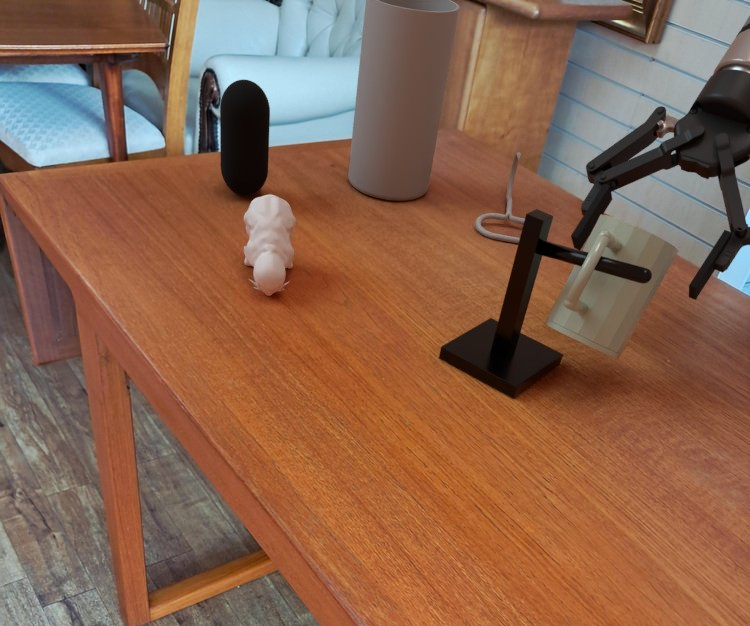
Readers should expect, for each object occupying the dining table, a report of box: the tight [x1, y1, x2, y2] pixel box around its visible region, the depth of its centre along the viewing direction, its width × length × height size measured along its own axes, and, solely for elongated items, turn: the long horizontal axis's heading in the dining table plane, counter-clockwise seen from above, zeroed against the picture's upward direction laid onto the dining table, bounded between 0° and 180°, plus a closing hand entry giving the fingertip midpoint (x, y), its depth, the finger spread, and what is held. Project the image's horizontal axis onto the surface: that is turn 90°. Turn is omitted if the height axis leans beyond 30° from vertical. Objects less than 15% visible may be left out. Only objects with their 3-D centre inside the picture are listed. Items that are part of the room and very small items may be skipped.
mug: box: [543, 214, 679, 360], centre depth 80 cm, size 13×9×12 cm, turn 138°
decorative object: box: [219, 79, 271, 197], centre depth 108 cm, size 7×7×15 cm
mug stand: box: [438, 208, 652, 399], centre depth 81 cm, size 18×10×17 cm, turn 50°
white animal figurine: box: [243, 193, 297, 297], centre depth 93 cm, size 6×8×12 cm
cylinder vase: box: [347, 0, 460, 202], centre depth 114 cm, size 12×12×25 cm
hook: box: [474, 151, 525, 245], centre depth 118 cm, size 7×9×20 cm
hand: (631, 267), depth 83 cm, fingers open, 13 cm apart
